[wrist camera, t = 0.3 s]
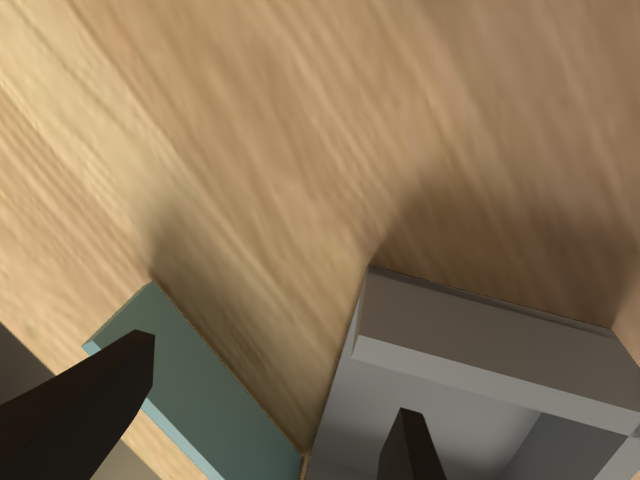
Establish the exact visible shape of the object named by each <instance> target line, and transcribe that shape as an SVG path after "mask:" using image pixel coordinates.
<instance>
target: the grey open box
mask: <svg viewBox="0 0 640 480" xmlns="http://www.w3.org/2000/svg"><path fill="white" fill-rule="evenodd" d="M400 407H402V408H405V409H409V410H412V411H416V412H419V413H422V414H423V416H424V418H425V421H426V424H427V427H428V430H429V432H430V435H431V438H432V441H433V444H434V446H435V449H436V452H437V454H438V457H439V460H440V462H441V465H442V467H443V470H444V472H445V475H446V477H447V480H631V479H632V478H633V476H634V475H635V474H636V473H637V472H638V471H639V470H640V368H639V367H638V365H637V364H636V362H635V361H634V360H633V358H632V357H631V356H630V354H629V353H628V351H627V350H626V349H625V347H624V346H623V345H622V343H621V342H620V340H619V339H618V338H617V336H616V335H615V334H614V332H613V331H612V330H610V329H607V328H603V327H599V326H595V325H592V324H588V323H584V322H580V321H577V320H573V319H569V318H565V317H562V316H558V315H554V314H550V313H547V312H543V311H539V310H535V309H532V308H528V307H524V306H520V305H517V304H513V303H509V302H505V301H502V300H498V299H494V298H491V297H487V296H483V295H479V294H476V293H472V292H468V291H464V290H461V289H457V288H453V287H449V286H446V285H442V284H438V283H434V282H431V281H427V280H423V279H419V278H416V277H412V276H408V275H404V274H401V273H397V272H393V271H390V270H386V269H382V268H378V267H375V266H371V265H368V266H367V270H366V273H365V276H364V280H363V283H362V286H361V289H360V293H359V296H358V299H357V303H356V306H355V309H354V312H353V316H352V319H351V322H350V325H349V329H348V332H347V335H346V339H345V342H344V345H343V348H342V352H341V355H340V358H339V362H338V365H337V368H336V371H335V375H334V378H333V381H332V385H331V388H330V391H329V394H328V398H327V401H326V404H325V408H324V411H323V414H322V417H321V421H320V424H319V427H318V431H317V434H316V437H315V440H314V444H313V447H312V450H311V453H310V457H309V462H308V466H307V471H306V476H305V480H377V474H378V465H379V456H380V453H381V450H382V448H383V446H384V443H385V441H386V439H387V437H388V434H389V432H390V430H391V427H392V425H393V423H394V421H395V418H396V416H397V414H398V412H399V409H400Z"/></svg>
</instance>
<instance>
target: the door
mask: <svg viewBox="0 0 640 480" xmlns="http://www.w3.org/2000/svg"><path fill="white" fill-rule="evenodd" d="M134 329H137V330H140V331H144V332H147V333H150V334H154V335H155V351H154V371H153V386H152V388H151V390H150V392H149V394H148V395H147V397H146V399H145V401H144V403H143V404H142V406H141V409H142V410H143V411H144V412H145V413H146V414H147V415H148V416H149V417H150V418H151V419H152V421H153V422H154V423H155V424H156V425H157V426H158V427H159V428H160V429H161V430H162V431H163V432H164V433H165V434H166V435H167V436H168V437H169V438H170V439H171V440H172V441H173V442H174V443H175V444H176V445H177V446H178V447H179V448H180V449H181V451H182V452H183V453H184V454H185V455H186V456H187V457H188V458H189V459H190V460H191V461H192V462H193V463H194V464H195V465H196V466H197V467H198V468H199V469H200V470H201V471H202V472H203V473H204V474H205V475H206V476H207V477H208V478H209V479H210V480H300V476H301V472H302V467H303V463H304V457H303V456H301V455H300V454H299V452H298V451H297V450H296V449H295V448H294V446H293V445H292V444H291V443H290V442H289V441H288V439H287V438H286V437H285V436H284V435H283V434H282V432H281V431H280V430H279V429H278V428H277V426H276V425H275V424H274V423H273V422H272V421H271V419H270V418H269V417H268V416H267V415H266V413H265V412H264V411H263V410H262V409H261V408H260V406H259V405H258V404H257V403H256V402H255V401H254V399H253V398H252V397H251V396H250V395H249V393H248V392H247V391H246V390H245V389H244V388H243V386H242V385H241V384H240V383H239V382H238V380H237V379H236V378H235V377H234V376H233V375H232V373H231V372H230V371H229V370H228V369H227V367H226V366H225V365H224V364H223V363H222V362H221V360H220V359H219V358H218V357H217V356H216V355H215V353H214V352H213V351H212V350H211V349H210V347H209V346H208V345H207V344H206V343H205V342H204V340H203V339H202V338H201V337H200V336H199V334H198V333H197V332H196V331H195V330H194V329H193V327H192V326H191V325H190V324H189V323H188V322H187V320H186V319H185V318H184V317H183V316H182V314H181V313H180V312H179V311H178V310H177V309H176V307H175V306H174V305H173V304H172V303H171V301H170V300H169V299H168V298H167V297H166V296H165V294H164V293H163V292H162V291H161V290H160V288H159V287H158V286H157V285H156V284H155V283H154V281H151V282H149V283H148V284H146V285H144V286H143V287H142V288H141V289H140V290H139V291H137V292H136V293H135V294H134V295H133V296H132V297H131V298H130V299H129V300H128V301H127V302H126V303H125V304H124V305H123V306H122V307H121V308H120V309H119V310H118V311H117V312H116V313H115V314H114V315H113V316H112V317H111V318H110V319H109V320H108V321H107V322H106V323H105V324H104V325H103V326H102V327H101V328H100V329H99V330H98V331H97V332H95V333H94V334H93V335H92V336H91V337H90V338H89V339H88V340H87V341H86V342H85V343H84V344H83V345H82V346H81V347H82V348H83V349H84V350H85V351H86V352H87V353H88V354H89V355H90V356H91V355H93V354H95V353H96V352H98V351H100V350H101V349H103V348H105V347H106V346H108V345H109V344H111V343H113V342H114V341H116V340H118V339H119V338H121V337H122V336H124V335H126V334H127V333H129V332H131V331H133V330H134Z"/></svg>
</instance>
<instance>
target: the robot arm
mask: <svg viewBox="0 0 640 480" xmlns="http://www.w3.org/2000/svg"><path fill="white" fill-rule="evenodd" d="M154 351H155V335H154V334H150V333H147V332H144V331H140V330H137V329H134V330H133V331H131V332H129V333H127V334H126V335H124V336H122V337H121V338H119V339H118V340H116V341H114V342H113V343H111V344H109V345H108V346H106V347H105V348H103V349H101V350H100V351H98V352H96V353H95V354H93V355H91V356H90V357H88V358H86V359H85V360H83V361H81V362H80V363H78V364H76V365H74V366H73V367H71V368H69V369H67V370H66V371H64V372H62V373H61V374H59V375H57V376H55V377H54V378H52V379H50V380H48V381H46V382H44V383H42V384H40V385H39V386H37V387H35V388H33V389H31V390H29V391H27V392H25V393H23V394H21V395H20V396H17V397H16V398H13V399H11V400H9V401H7V402H5V403H3V404H1V405H0V480H90V478H91V477H92V476H93V474H94V473H95V472H96V470H97V469H98V468H99V466H100V465H101V463H102V462H103V461H104V459H105V458H106V457H107V455H108V454H109V453H110V451H111V450H112V449H113V447H114V446H115V445H116V443H117V442H118V440H119V439H120V438H121V436H122V435H123V433H124V432H125V431H126V429H127V428H128V427H129V425H130V424H131V422H132V421H133V420H134V418H135V416H136V415H137V413H138V411H139V409H140V408H141V406H142V404H143V403H144V401H145V399H146V397H147V395H148V394H149V392H150V390H151V388H152V386H153V371H154ZM377 480H447V477H446V475H445V472H444V470H443V467H442V465H441V462H440V460H439V457H438V454H437V452H436V449H435V446H434V444H433V441H432V438H431V435H430V432H429V430H428V427H427V424H426V421H425V418H424V416H423V414H422V413H419V412H416V411H412V410H409V409H405V408H402V407H400V409H399V412H398V414H397V416H396V418H395V421H394V423H393V425H392V427H391V430H390V432H389V434H388V437H387V439H386V441H385V443H384V446H383V448H382V450H381V453H380V456H379V465H378V474H377Z"/></svg>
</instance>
